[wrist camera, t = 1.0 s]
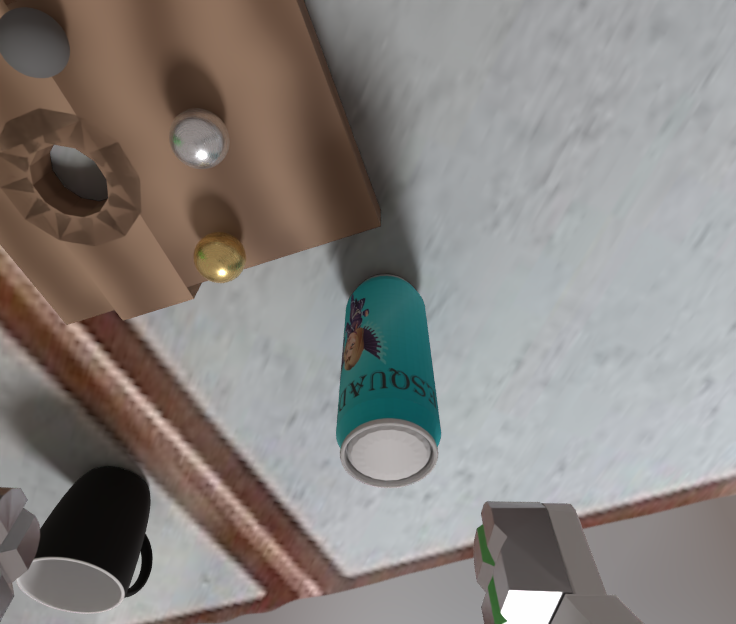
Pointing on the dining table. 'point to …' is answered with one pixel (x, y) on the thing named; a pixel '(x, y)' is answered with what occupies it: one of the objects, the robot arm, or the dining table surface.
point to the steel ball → (199, 138)
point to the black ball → (33, 43)
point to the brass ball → (219, 257)
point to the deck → (154, 154)
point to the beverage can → (387, 386)
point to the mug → (92, 544)
